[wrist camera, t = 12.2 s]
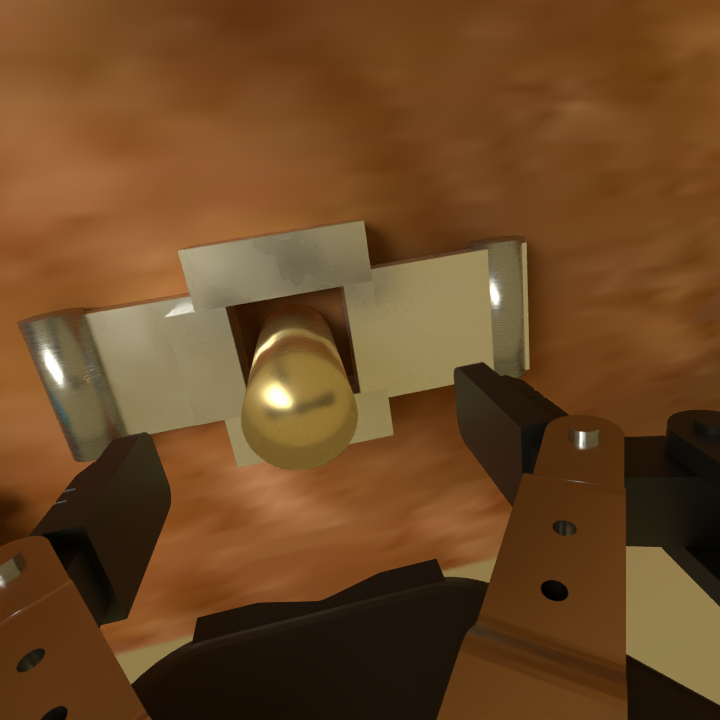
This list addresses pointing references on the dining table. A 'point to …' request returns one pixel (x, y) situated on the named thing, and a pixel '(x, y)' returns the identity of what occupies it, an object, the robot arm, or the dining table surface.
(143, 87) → the dining table surface
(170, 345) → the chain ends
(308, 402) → the pin
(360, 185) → the dining table surface
